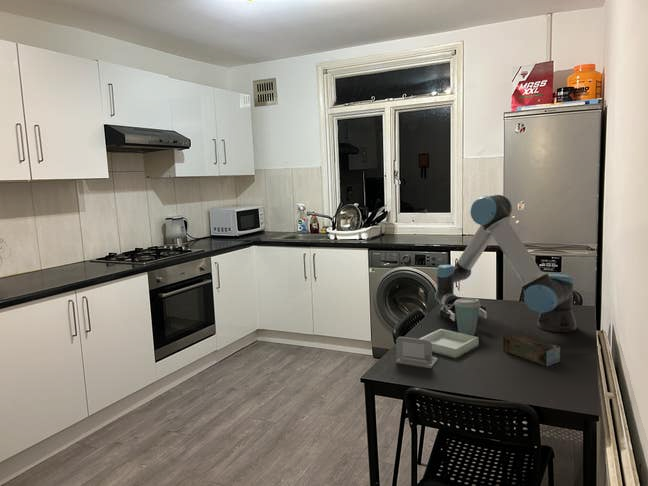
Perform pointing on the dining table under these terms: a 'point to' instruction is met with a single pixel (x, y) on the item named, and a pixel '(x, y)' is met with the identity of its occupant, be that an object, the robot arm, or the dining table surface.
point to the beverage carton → (531, 348)
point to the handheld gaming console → (414, 352)
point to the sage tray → (451, 342)
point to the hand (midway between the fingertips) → (469, 316)
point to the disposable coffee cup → (467, 315)
